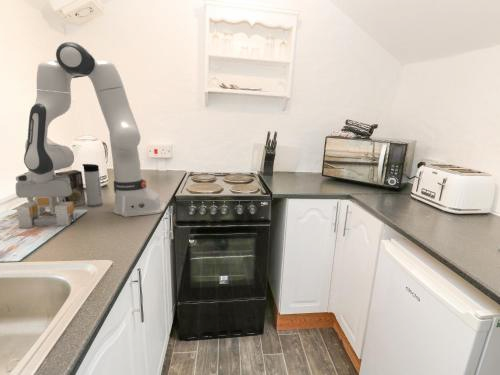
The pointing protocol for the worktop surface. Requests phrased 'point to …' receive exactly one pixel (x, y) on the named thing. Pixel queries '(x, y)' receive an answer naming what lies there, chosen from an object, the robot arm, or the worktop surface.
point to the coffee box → (74, 187)
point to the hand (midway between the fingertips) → (47, 206)
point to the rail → (31, 217)
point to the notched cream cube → (46, 203)
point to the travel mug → (92, 185)
